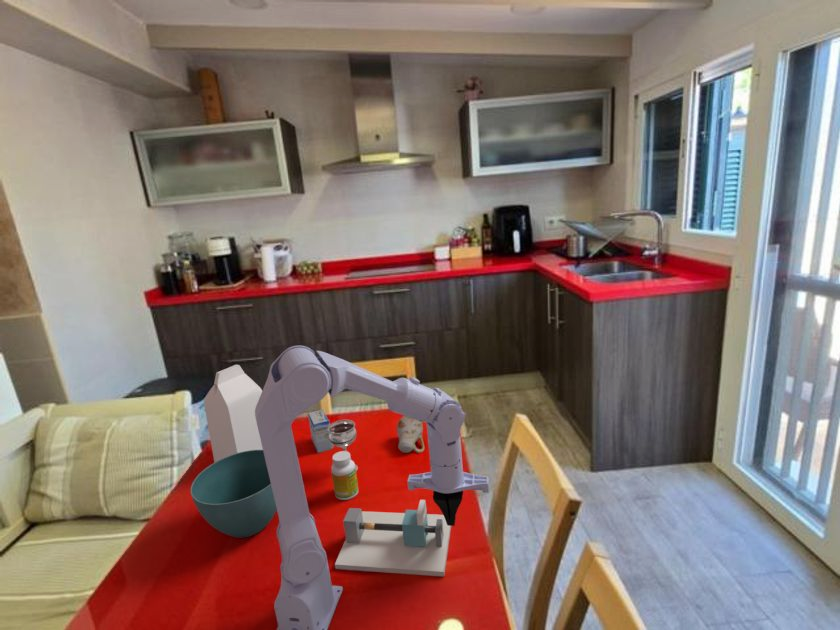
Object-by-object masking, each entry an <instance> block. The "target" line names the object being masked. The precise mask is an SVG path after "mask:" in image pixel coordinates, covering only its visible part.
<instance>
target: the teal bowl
mask: <svg viewBox="0 0 840 630" xmlns="http://www.w3.org/2000/svg"><path fill="white" fill-rule="evenodd" d="M190 495H191V498H192V501H193V503H194V505H195V507H196V509H197V511H198V512H199V513H200V515H201V516H202V517H203V519H204V520H205V521H206V522H207V523H208V525H210V527H211V526H212V528H214V529H215V530H217V531H218V532H220V533H222V534H224V535H227V536H230V537H233V538H238V539H239V538H241V539H243V538H249V537H251V536H254V535H257V534H258V533H260V532H262V531H263V530H264V529H266V527H267V526H268V525H269V524H270V523H271V520H272V519H273V518H274V517H275V514H276V513H277V508H276V504H275V499H274V495H273V491H272V486H271V482H270V478H269V474H268V469H267V465H266V461H265V456H264V452H263V450H249V451H244V452H239V453H236V454H233V455H230V456H227V457H225V458H223V459H221V460H218V461H217V462H215V463H214V462H213V463H212V464H209V466H207V467H206V468H204V469H203V470H202V471H201V472H200V473H198V475H196V477H195V478H194V479H193V481H192V484H191V486H190Z"/></svg>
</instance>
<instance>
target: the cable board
mask: <svg viewBox="0 0 840 630" xmlns="http://www.w3.org/2000/svg"><path fill="white" fill-rule="evenodd" d="M404 515H405V512H385V511H366V510H365V511H362V508H359V507H358V508H356V507H354V508H353V507H349V508H348V510H347V512H346V514H345V516H344V518H343V521H342V523H343V528H344V533H345V534H344V535H345V540H344V542H343V545H342V547H341V549H340V551H339V553H338V556H337V558H336V561H335V563H334V568H335V570H346V571H361V572H372V573H373V572H376V573H388V574H389V573H391V574H402V575H403V574H404V575H405V574H406V575H417V576H418V575H419V576H431V577H445V572H446V568H447V567H446V565H447V559H448V552H449V544H450V539H451V531H452V530H451V529H452V526H448V525H447V523H446V520H445V517H444V515H443V514H436V513H434V514H432V513H431V514H430V513H427V520H428V526H425V533H428V535H426V546H409V545H404V538H403V530H402V522H403V519H404Z"/></svg>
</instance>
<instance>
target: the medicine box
mask: <svg viewBox="0 0 840 630" xmlns="http://www.w3.org/2000/svg"><path fill="white" fill-rule="evenodd" d="M307 416H308V423H309V428H310V429H309V430H310V434H311V435H310V436H311V441H312V443H313V445H314V447H315V450H316V452H317V453H318V454H320V453H324V452H327V451H330V450H332V449H334V445H333V444H332V443H331V442H330V440H329V431H328V427H329V425H330V424H331V423H330V419H328V417H327V415H326V412H325V411H324V410H323V409H320V410H316V411H312V412H309V413H307Z"/></svg>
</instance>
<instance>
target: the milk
mask: <svg viewBox="0 0 840 630" xmlns="http://www.w3.org/2000/svg"><path fill="white" fill-rule="evenodd" d="M262 391H263V389H262V388H261V387H260V386H259V385H258V384H257V383H256V381H254V380H253V379H252V378H251V377H250V376H248V374H247V373H245V371H244V370H243V368H242V367H241V365H240V364H234V365H232V366H229V367H227V368H224V369H222V370H220V371H216V373H215V377H214V383H213V385H212V387H211V388H210V389H209V391H208V392H207V394H206V395H205V397H204V401H203V406H204V407H203V408H204V411H205V418H206V422H207V427H208V429H207V430H208V433H209V435H208V436H209V439H210V445H211V451H212V456H213V463H215V462H217V461H218V460H221V459H223V458H225V457H227V456H230V455H233V454H236V453H239V452H244V451H249V450H263V448H262V444H261V439H260V435H259V431H258V427H257V422H256V417H255V408H256V405H257V403H258V401H259V398H260V396H261V393H262Z"/></svg>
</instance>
